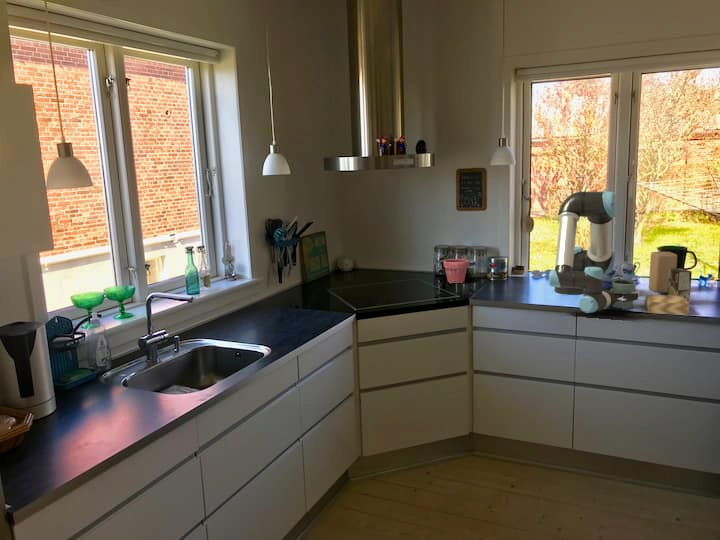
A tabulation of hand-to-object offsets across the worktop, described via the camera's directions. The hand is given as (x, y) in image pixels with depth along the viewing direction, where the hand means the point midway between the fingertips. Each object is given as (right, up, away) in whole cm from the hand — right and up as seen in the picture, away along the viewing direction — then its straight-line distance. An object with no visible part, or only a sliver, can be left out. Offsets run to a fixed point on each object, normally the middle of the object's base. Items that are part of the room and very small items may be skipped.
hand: (628, 291), depth 283 cm
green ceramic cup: (-3, -7, -2) cm, 8 cm away
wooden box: (+13, -8, -9) cm, 18 cm away
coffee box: (+25, -6, +4) cm, 26 cm away
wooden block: (+31, -1, +30) cm, 43 cm away
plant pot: (-71, +3, +64) cm, 95 cm away
